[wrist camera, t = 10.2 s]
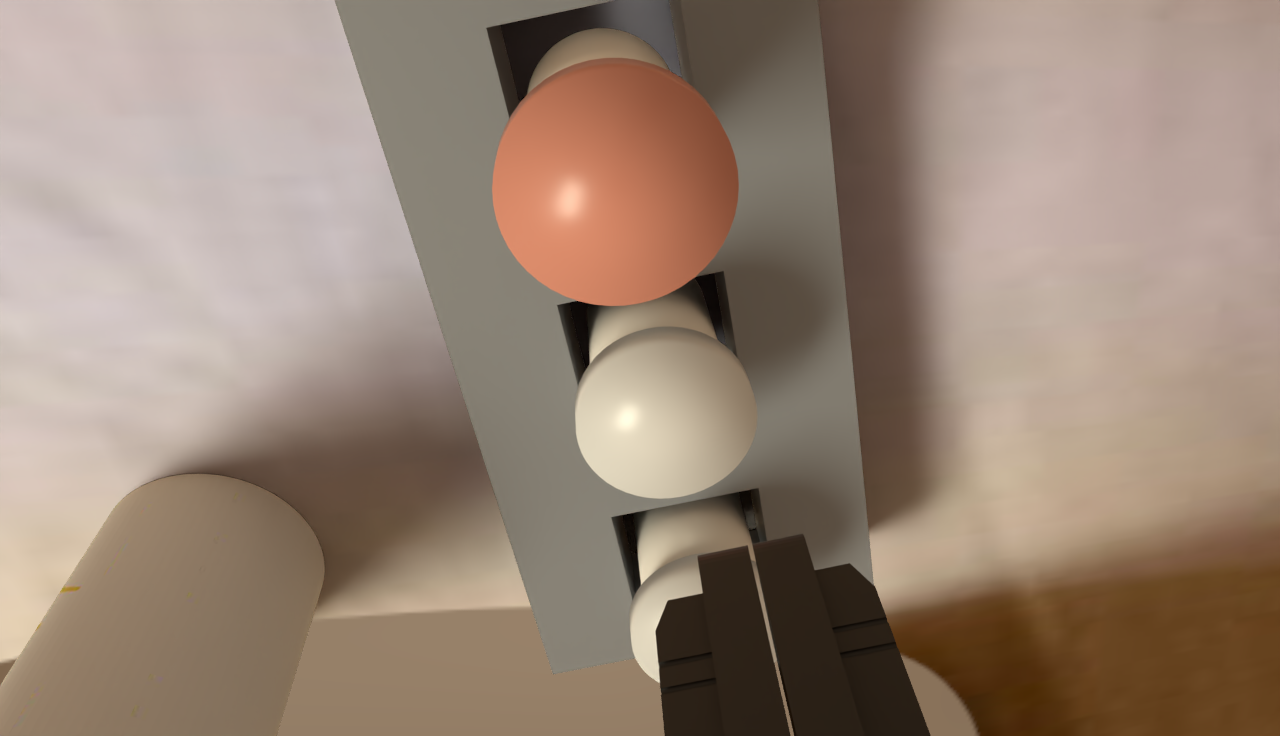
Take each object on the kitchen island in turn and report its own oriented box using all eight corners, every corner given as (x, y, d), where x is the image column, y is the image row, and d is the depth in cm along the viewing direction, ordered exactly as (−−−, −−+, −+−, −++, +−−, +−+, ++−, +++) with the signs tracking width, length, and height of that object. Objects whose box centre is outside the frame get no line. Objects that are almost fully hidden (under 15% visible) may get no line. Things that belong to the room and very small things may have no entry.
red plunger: (679, -12, 25) (719, 44, 19) (709, 177, 27) (753, 280, 21) (485, 30, 25) (462, 98, 19) (532, 213, 28) (525, 326, 21)
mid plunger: (708, 229, 32) (744, 326, 26) (730, 362, 35) (768, 479, 28) (556, 260, 32) (557, 364, 26) (589, 390, 35) (596, 513, 29)
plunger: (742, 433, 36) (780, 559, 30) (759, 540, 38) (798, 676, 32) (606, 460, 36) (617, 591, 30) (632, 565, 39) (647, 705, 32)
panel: (776, -116, 28) (808, -107, 24) (848, 541, 40) (876, 611, 36) (360, -27, 28) (332, -5, 25) (553, 599, 40) (552, 674, 36)
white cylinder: (71, 482, 36) (-130, 758, 25) (301, 465, 36) (196, 730, 26) (135, 649, 40) (-15, 947, 29) (342, 632, 40) (266, 921, 30)
